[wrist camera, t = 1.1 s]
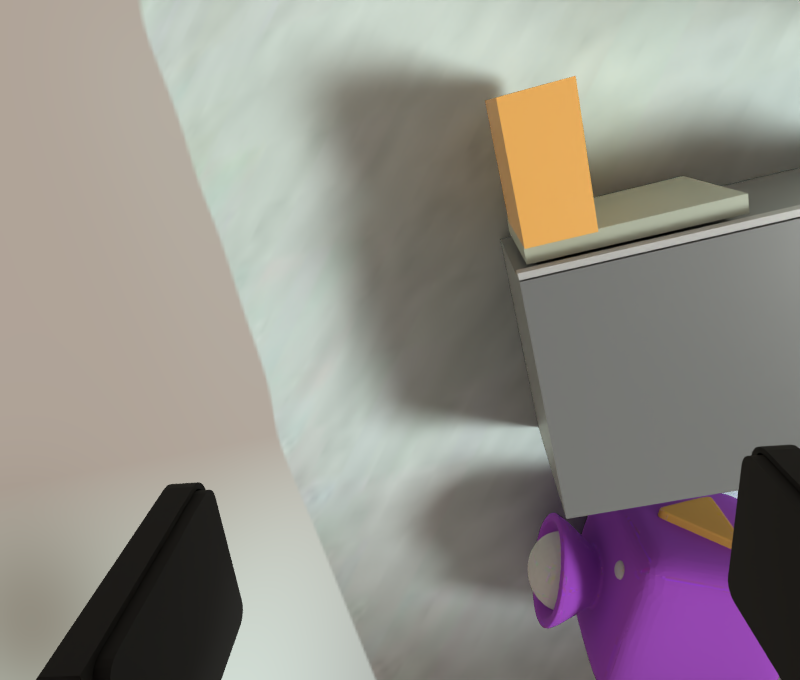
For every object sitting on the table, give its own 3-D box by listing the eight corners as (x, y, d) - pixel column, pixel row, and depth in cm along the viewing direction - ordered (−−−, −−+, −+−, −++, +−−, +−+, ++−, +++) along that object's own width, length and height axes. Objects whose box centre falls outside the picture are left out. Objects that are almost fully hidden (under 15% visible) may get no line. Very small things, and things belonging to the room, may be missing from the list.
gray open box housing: (940, 127, 30) (1133, 133, 22) (931, 352, 34) (1091, 431, 26) (499, 233, 33) (517, 274, 25) (538, 427, 37) (566, 518, 29)
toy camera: (519, 463, 38) (544, 575, 29) (743, 461, 37) (844, 578, 28) (516, 597, 42) (537, 735, 33) (720, 599, 41) (802, 742, 32)
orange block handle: (670, 49, 29) (744, 29, 22) (684, 191, 31) (755, 215, 24) (483, 100, 30) (496, 97, 23) (509, 233, 32) (528, 267, 25)
